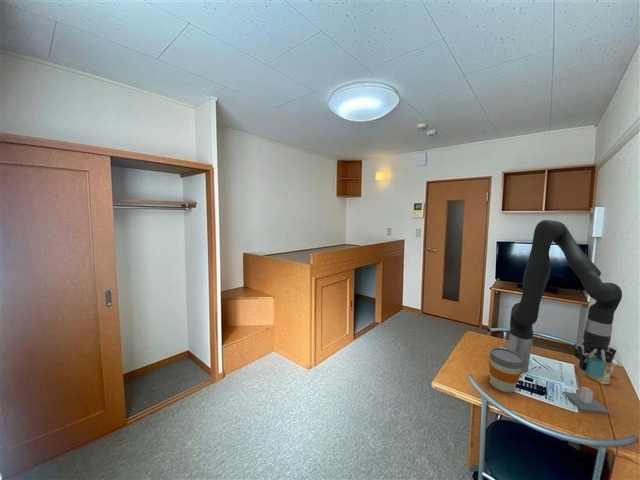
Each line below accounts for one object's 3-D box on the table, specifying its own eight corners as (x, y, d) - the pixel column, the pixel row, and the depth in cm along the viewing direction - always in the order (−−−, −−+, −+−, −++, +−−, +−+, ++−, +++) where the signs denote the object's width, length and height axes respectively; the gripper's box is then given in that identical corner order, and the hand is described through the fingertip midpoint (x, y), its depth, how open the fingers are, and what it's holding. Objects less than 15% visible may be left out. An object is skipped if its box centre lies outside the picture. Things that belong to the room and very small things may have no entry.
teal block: (588, 376, 109) (591, 360, 108) (578, 368, 114) (580, 353, 113) (603, 377, 108) (605, 362, 107) (591, 369, 113) (594, 354, 112)
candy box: (609, 383, 126) (615, 353, 124) (602, 385, 125) (608, 354, 123) (587, 372, 135) (592, 343, 132) (580, 373, 134) (585, 344, 131)
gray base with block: (581, 410, 108) (583, 396, 108) (562, 393, 118) (564, 380, 117) (609, 414, 107) (612, 399, 106) (588, 396, 117) (590, 383, 116)
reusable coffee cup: (479, 380, 126) (483, 350, 124) (497, 374, 131) (501, 345, 129) (507, 398, 114) (512, 365, 112) (525, 391, 119) (530, 359, 117)
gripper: (585, 334, 106) (578, 373, 108) (627, 337, 104) (619, 377, 106) (570, 325, 113) (564, 363, 115) (609, 328, 111) (602, 366, 114)
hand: (590, 369), depth 111 cm, fingers closed on teal block, 5 cm apart
